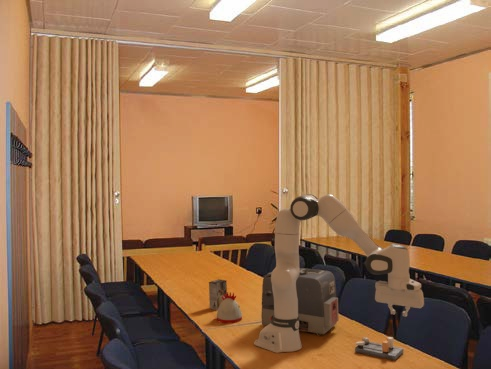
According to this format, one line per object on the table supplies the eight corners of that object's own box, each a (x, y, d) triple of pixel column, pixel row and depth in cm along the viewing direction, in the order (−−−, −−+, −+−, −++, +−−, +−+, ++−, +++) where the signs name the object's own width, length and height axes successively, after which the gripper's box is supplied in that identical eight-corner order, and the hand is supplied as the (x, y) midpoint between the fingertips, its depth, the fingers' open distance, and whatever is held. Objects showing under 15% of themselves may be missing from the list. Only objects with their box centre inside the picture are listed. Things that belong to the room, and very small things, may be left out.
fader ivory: (387, 347, 222) (387, 338, 222) (389, 345, 224) (389, 336, 224) (391, 348, 221) (391, 339, 221) (393, 346, 223) (393, 337, 222)
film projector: (348, 326, 259) (347, 268, 258) (323, 343, 235) (323, 279, 234) (282, 314, 282) (281, 261, 281) (253, 328, 257) (253, 270, 256)
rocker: (355, 345, 224) (355, 343, 224) (357, 343, 226) (357, 341, 226) (363, 345, 222) (362, 342, 222) (365, 343, 224) (364, 341, 224)
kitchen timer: (238, 323, 266) (238, 295, 266) (213, 322, 269) (213, 294, 269) (244, 316, 280) (243, 289, 279) (220, 315, 283) (219, 288, 282)
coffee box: (219, 305, 303) (218, 278, 302) (227, 306, 299) (226, 280, 298) (209, 308, 295) (208, 281, 295) (217, 310, 291) (216, 283, 291)
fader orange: (382, 351, 217) (382, 342, 217) (384, 349, 219) (384, 340, 219) (386, 352, 216) (386, 343, 216) (388, 350, 218) (388, 341, 218)
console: (354, 351, 223) (354, 346, 223) (363, 344, 232) (363, 339, 232) (394, 360, 212) (394, 354, 212) (403, 352, 221) (403, 346, 221)
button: (361, 342, 229) (361, 338, 229) (364, 340, 231) (363, 337, 231) (367, 343, 227) (367, 339, 227) (369, 342, 229) (369, 338, 229)
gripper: (372, 281, 216) (372, 313, 217) (420, 287, 204) (420, 320, 205) (377, 278, 221) (378, 309, 222) (425, 284, 210) (425, 317, 210)
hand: (398, 315), depth 213 cm, fingers open, 4 cm apart
